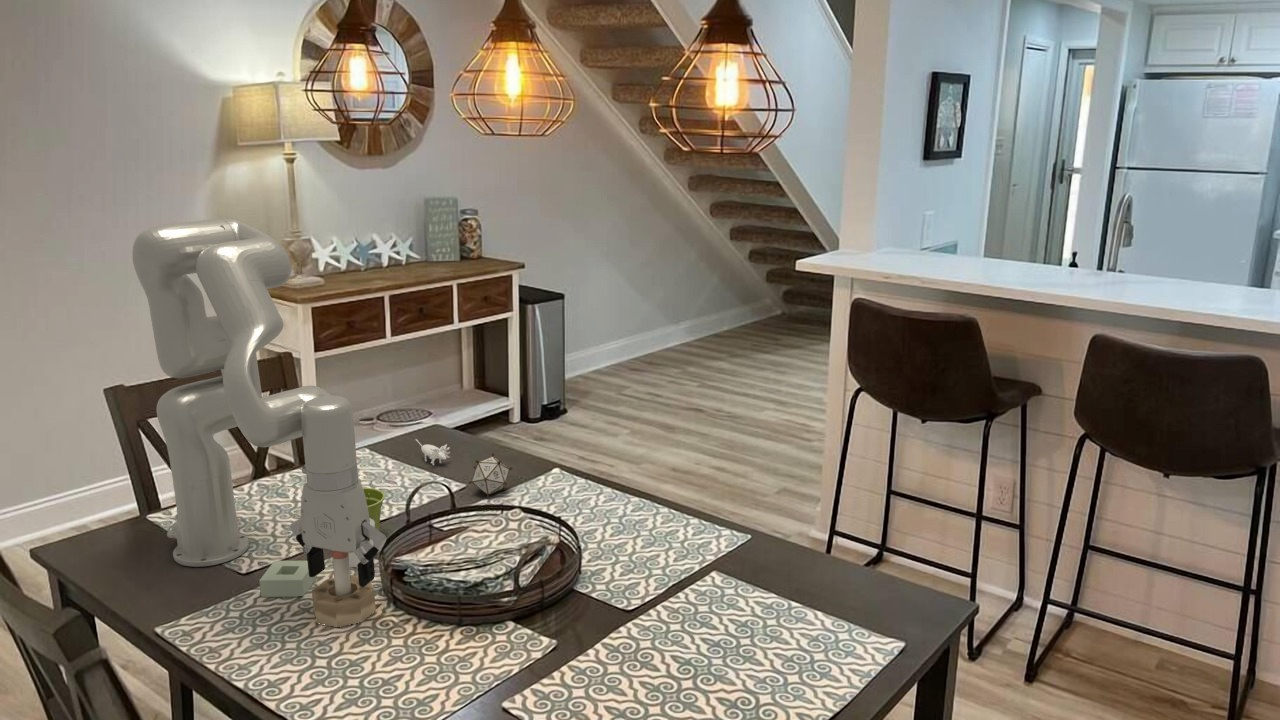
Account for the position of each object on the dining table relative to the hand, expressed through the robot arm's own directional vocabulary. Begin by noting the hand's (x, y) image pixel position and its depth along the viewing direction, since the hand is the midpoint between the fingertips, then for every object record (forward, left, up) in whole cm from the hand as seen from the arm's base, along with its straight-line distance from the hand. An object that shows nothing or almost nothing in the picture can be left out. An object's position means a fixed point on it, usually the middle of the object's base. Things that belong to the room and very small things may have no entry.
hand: (341, 578), depth 152 cm
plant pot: (-13, +23, -6) cm, 27 cm away
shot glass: (-9, +16, -6) cm, 19 cm away
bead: (0, 0, -6) cm, 6 cm away
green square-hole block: (-14, +4, -6) cm, 16 cm away
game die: (-1, +51, -6) cm, 51 cm away
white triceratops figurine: (-23, +63, -6) cm, 67 cm away
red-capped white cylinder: (0, 0, -6) cm, 6 cm away
